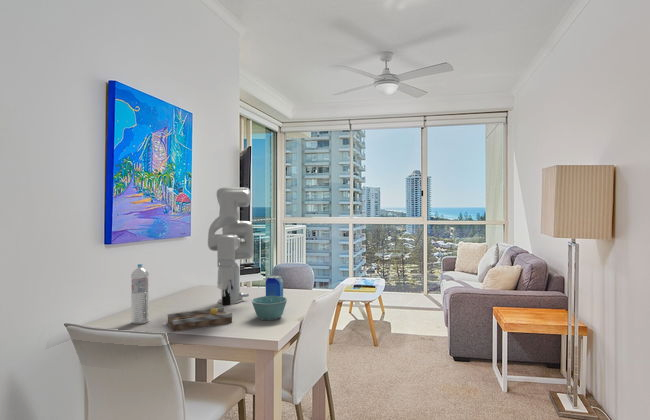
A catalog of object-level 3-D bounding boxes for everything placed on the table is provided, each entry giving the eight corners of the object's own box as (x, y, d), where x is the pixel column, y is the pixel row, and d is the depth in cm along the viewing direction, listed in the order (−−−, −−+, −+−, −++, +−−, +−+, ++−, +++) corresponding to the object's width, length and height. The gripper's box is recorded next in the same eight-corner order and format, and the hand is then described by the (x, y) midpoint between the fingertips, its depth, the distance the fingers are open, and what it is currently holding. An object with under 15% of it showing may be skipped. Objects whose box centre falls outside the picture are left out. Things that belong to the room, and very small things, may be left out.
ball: (216, 314, 184) (216, 306, 184) (218, 315, 181) (218, 308, 181) (209, 315, 182) (209, 307, 182) (211, 316, 180) (211, 309, 180)
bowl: (272, 324, 177) (271, 304, 177) (244, 319, 185) (244, 300, 185) (294, 316, 190) (294, 298, 190) (267, 312, 198) (267, 294, 198)
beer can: (286, 308, 205) (286, 275, 205) (277, 312, 197) (277, 278, 197) (271, 306, 208) (271, 274, 208) (262, 310, 201) (262, 277, 201)
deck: (223, 316, 190) (223, 307, 190) (232, 322, 179) (232, 313, 179) (167, 323, 178) (167, 313, 178) (173, 330, 167) (173, 320, 167)
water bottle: (134, 320, 183) (134, 263, 183) (150, 320, 184) (150, 263, 184) (128, 324, 176) (128, 265, 176) (145, 324, 177) (145, 265, 177)
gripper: (213, 262, 189) (213, 303, 189) (222, 265, 176) (222, 309, 176) (229, 261, 193) (229, 301, 192) (239, 264, 180) (240, 307, 179)
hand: (226, 305), depth 184 cm, fingers closed
